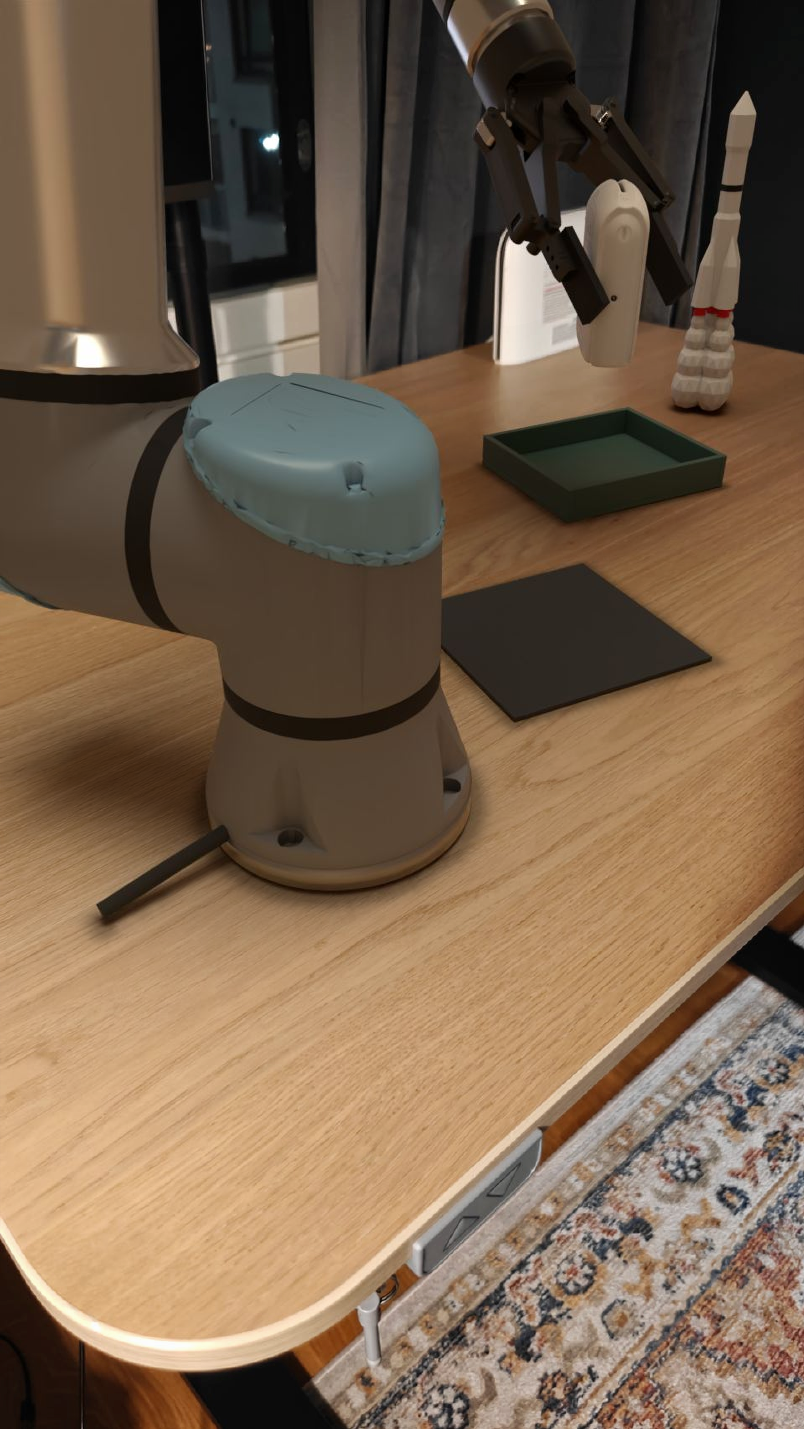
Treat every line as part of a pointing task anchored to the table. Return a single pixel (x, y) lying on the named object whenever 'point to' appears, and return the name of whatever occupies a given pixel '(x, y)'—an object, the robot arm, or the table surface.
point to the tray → (602, 463)
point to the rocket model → (717, 283)
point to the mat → (558, 640)
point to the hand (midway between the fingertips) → (639, 304)
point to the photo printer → (615, 271)
